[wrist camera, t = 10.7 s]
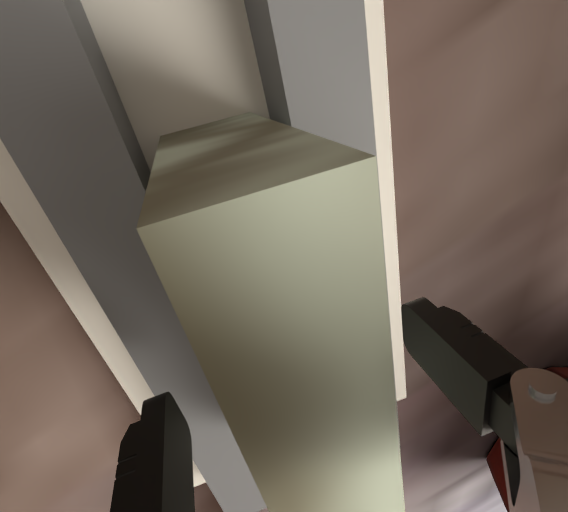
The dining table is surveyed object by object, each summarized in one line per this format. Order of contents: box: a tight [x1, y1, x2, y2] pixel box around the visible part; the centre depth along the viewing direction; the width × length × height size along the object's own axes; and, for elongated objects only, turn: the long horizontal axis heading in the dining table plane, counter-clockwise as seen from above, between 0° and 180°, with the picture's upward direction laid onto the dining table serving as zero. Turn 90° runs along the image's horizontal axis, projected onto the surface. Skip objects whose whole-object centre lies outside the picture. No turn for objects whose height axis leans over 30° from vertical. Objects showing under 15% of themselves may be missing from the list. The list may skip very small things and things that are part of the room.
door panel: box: [136, 112, 405, 512], centre depth 13 cm, size 4×14×10 cm, turn 12°
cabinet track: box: [0, 0, 406, 512], centre depth 17 cm, size 16×28×5 cm, turn 13°
